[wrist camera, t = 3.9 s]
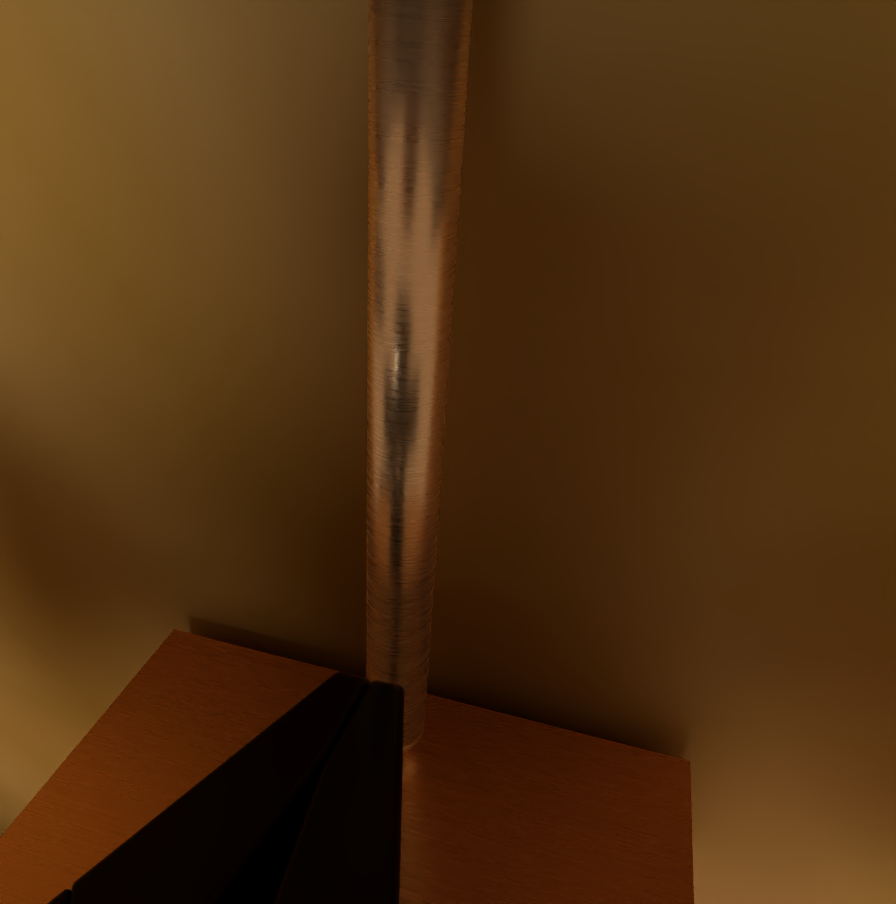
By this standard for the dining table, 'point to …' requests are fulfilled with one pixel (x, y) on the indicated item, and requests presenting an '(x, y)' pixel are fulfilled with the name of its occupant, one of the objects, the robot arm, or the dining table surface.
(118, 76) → the dining table surface
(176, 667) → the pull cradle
